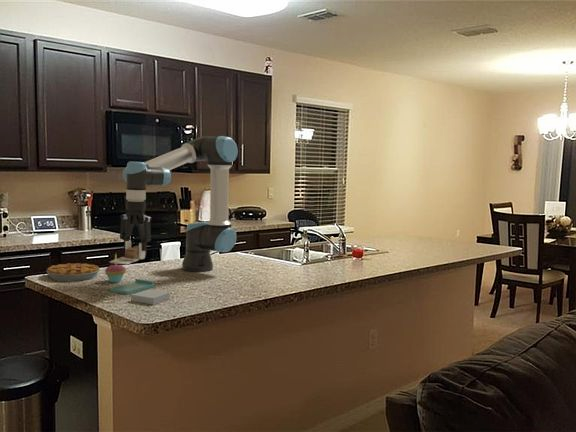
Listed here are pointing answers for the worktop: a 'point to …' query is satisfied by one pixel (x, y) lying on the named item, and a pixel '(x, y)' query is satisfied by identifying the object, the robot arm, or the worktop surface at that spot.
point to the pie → (72, 272)
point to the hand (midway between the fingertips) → (135, 257)
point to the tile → (150, 297)
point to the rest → (133, 286)
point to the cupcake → (115, 272)
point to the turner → (128, 256)
